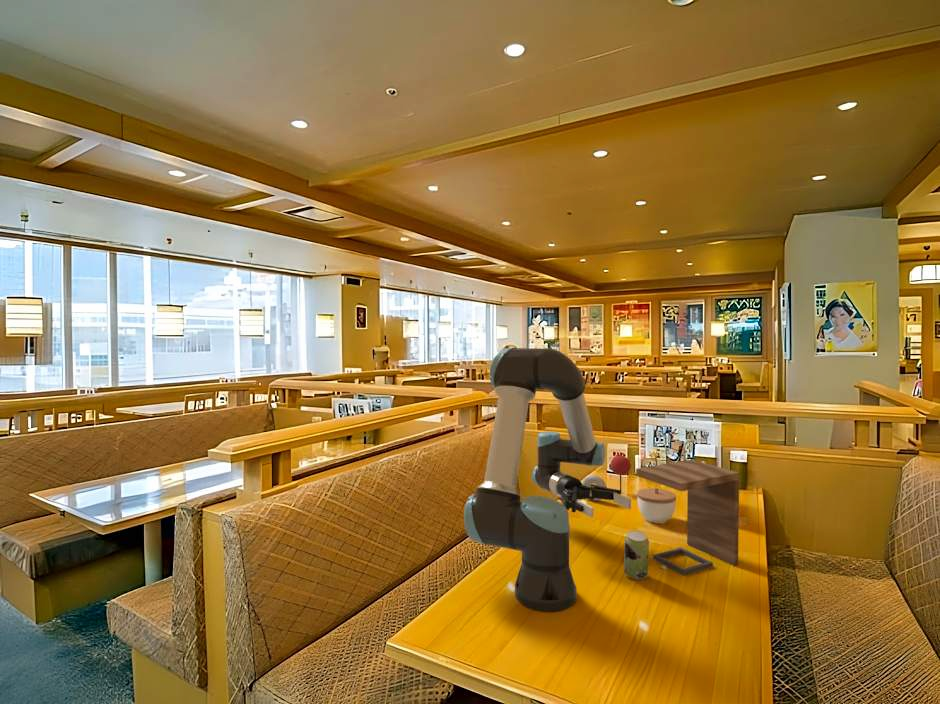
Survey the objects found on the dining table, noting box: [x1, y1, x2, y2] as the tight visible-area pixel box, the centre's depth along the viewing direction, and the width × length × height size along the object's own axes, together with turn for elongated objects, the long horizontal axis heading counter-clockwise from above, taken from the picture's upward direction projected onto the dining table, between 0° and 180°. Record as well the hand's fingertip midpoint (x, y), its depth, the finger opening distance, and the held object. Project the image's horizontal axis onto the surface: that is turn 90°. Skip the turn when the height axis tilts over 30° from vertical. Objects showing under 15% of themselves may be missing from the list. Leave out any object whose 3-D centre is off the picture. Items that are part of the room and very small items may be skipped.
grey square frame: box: [652, 547, 714, 576], centre depth 143 cm, size 11×11×1 cm
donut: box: [581, 474, 608, 502], centre depth 195 cm, size 10×3×10 cm, turn 52°
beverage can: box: [623, 530, 650, 581], centre depth 134 cm, size 6×7×12 cm
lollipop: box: [609, 455, 632, 492], centre depth 204 cm, size 8×8×15 cm
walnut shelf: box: [635, 459, 740, 567], centre depth 143 cm, size 22×16×26 cm
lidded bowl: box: [636, 487, 677, 524], centre depth 175 cm, size 13×13×11 cm
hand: (611, 508), depth 143 cm, fingers open, 13 cm apart
